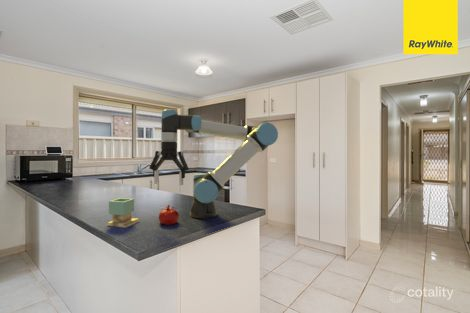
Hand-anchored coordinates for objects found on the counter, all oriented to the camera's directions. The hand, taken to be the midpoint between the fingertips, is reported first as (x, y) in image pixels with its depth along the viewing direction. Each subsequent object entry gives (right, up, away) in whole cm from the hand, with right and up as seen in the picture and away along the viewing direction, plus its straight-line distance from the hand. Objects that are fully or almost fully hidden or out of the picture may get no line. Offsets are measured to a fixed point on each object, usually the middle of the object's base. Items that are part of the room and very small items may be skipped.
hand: (168, 184), depth 122 cm
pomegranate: (0, -20, +1) cm, 20 cm away
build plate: (-22, -19, -1) cm, 29 cm away
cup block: (-23, -14, -2) cm, 26 cm away
